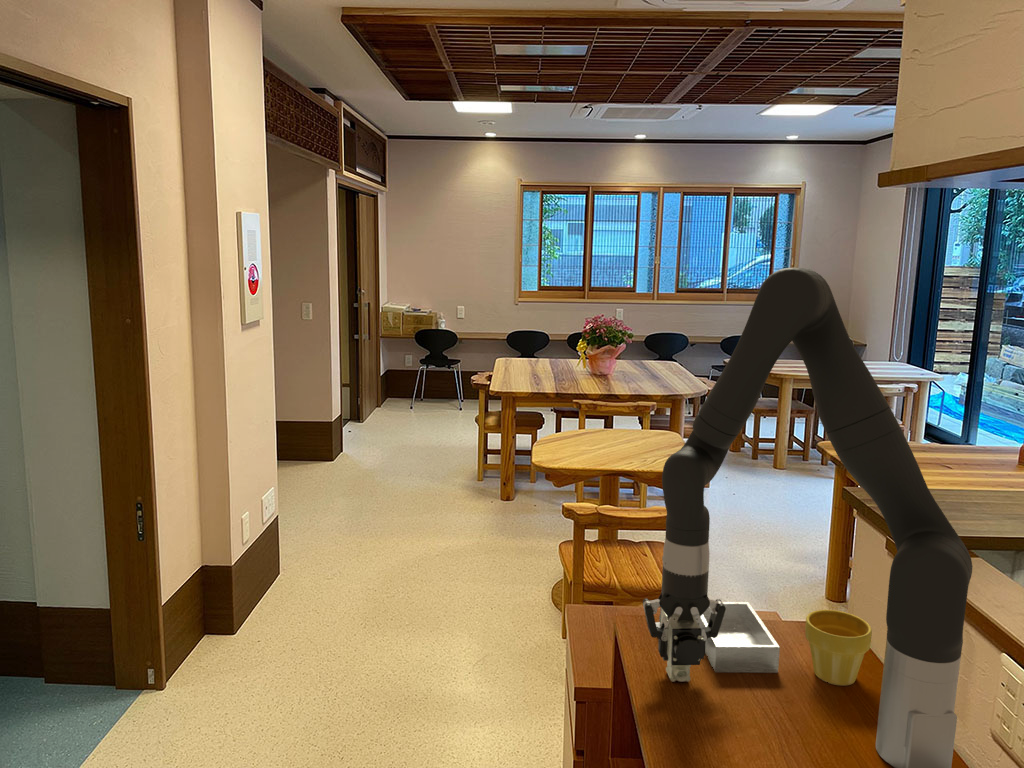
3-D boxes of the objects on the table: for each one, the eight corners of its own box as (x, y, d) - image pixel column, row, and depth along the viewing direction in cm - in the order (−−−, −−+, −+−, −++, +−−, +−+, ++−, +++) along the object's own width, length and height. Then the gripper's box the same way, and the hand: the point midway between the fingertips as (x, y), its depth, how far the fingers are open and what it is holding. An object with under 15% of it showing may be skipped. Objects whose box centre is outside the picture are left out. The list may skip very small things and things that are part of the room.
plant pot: (801, 654, 133) (805, 604, 132) (863, 665, 130) (868, 614, 128) (802, 685, 124) (806, 631, 122) (870, 697, 120) (875, 642, 119)
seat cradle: (777, 672, 127) (779, 647, 127) (714, 672, 127) (716, 646, 127) (747, 625, 144) (748, 602, 143) (691, 624, 144) (692, 601, 143)
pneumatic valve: (672, 696, 120) (675, 628, 118) (656, 658, 131) (658, 595, 129) (706, 696, 120) (709, 627, 118) (687, 657, 132) (690, 595, 130)
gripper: (646, 573, 119) (643, 670, 121) (735, 573, 119) (729, 670, 121) (638, 555, 126) (635, 646, 129) (722, 555, 126) (717, 647, 129)
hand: (681, 657), depth 125 cm, fingers closed on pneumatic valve, 5 cm apart
